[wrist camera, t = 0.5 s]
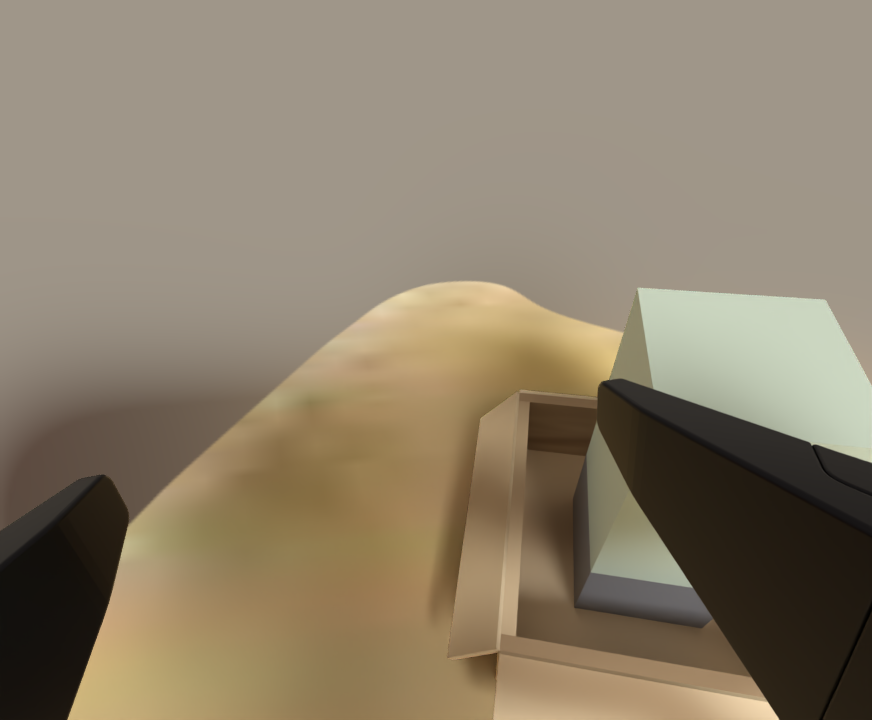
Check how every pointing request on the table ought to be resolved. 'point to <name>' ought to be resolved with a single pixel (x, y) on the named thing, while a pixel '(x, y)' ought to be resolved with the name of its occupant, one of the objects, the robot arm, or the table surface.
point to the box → (722, 391)
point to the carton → (569, 592)
